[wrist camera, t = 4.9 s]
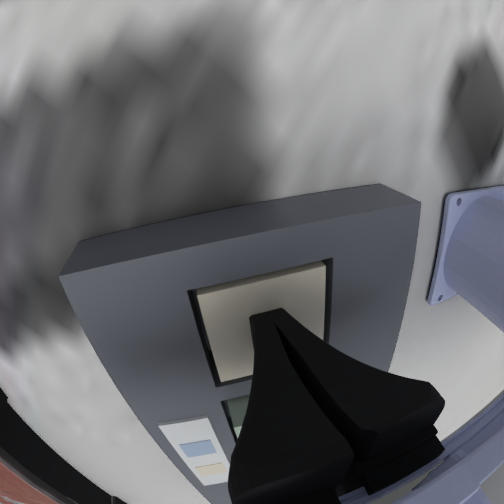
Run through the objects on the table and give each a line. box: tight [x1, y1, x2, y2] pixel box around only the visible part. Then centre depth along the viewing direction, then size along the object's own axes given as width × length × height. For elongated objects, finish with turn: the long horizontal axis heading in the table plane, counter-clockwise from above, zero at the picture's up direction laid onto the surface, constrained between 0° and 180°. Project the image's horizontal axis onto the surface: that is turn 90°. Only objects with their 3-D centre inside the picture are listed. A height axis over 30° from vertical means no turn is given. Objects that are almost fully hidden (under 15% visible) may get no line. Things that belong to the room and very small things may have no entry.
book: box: [0, 388, 127, 504], centre depth 15 cm, size 26×18×5 cm
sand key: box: [196, 260, 326, 382], centre depth 13 cm, size 5×5×2 cm
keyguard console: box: [59, 184, 421, 504], centre depth 17 cm, size 14×28×3 cm, turn 6°
